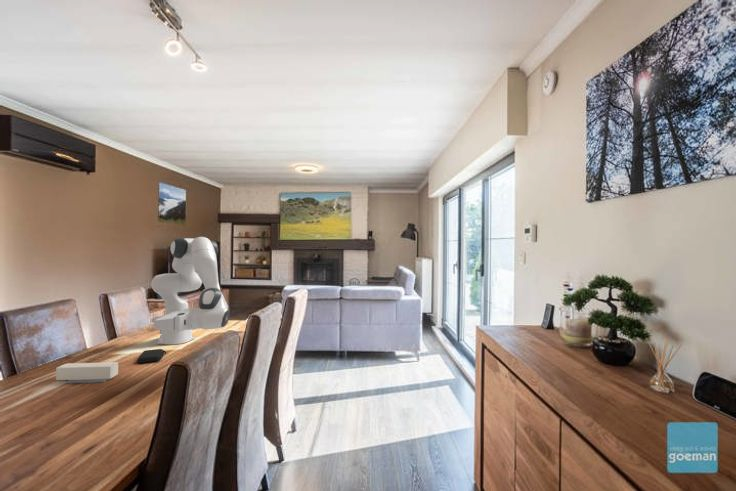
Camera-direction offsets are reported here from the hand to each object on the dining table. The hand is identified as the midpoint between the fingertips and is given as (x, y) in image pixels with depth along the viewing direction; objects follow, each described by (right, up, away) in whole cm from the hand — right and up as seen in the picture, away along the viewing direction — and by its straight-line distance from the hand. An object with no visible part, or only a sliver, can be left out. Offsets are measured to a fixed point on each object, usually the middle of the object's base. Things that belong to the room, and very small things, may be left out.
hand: (153, 319), depth 141 cm
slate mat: (-23, -23, -3) cm, 33 cm away
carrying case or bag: (-14, -24, +22) cm, 36 cm away
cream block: (-15, -21, -2) cm, 25 cm away
